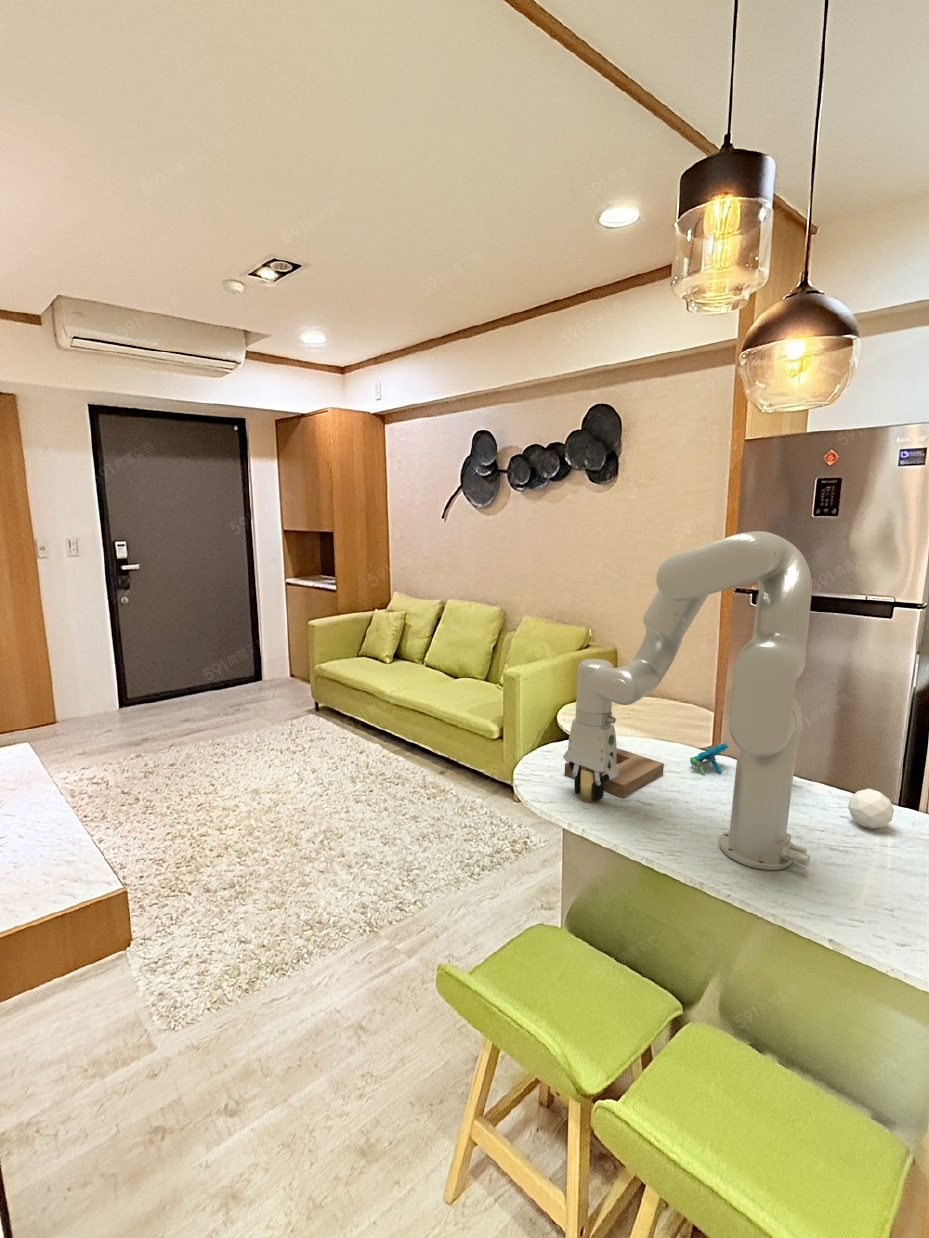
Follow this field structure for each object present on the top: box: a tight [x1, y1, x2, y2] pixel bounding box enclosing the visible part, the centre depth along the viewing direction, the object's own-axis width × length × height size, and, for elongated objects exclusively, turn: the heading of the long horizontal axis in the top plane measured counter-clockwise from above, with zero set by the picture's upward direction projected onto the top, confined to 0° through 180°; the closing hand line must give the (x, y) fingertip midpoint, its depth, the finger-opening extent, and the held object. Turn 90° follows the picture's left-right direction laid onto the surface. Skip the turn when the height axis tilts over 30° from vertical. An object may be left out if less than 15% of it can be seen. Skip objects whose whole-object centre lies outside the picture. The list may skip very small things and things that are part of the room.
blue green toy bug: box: [689, 742, 729, 776], centre depth 154 cm, size 11×6×10 cm
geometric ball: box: [847, 788, 895, 830], centre depth 128 cm, size 8×8×8 cm
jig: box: [564, 747, 665, 799], centre depth 150 cm, size 16×18×3 cm
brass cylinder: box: [578, 766, 598, 804], centre depth 137 cm, size 4×4×7 cm
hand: (588, 795), depth 138 cm, fingers closed on brass cylinder, 4 cm apart
